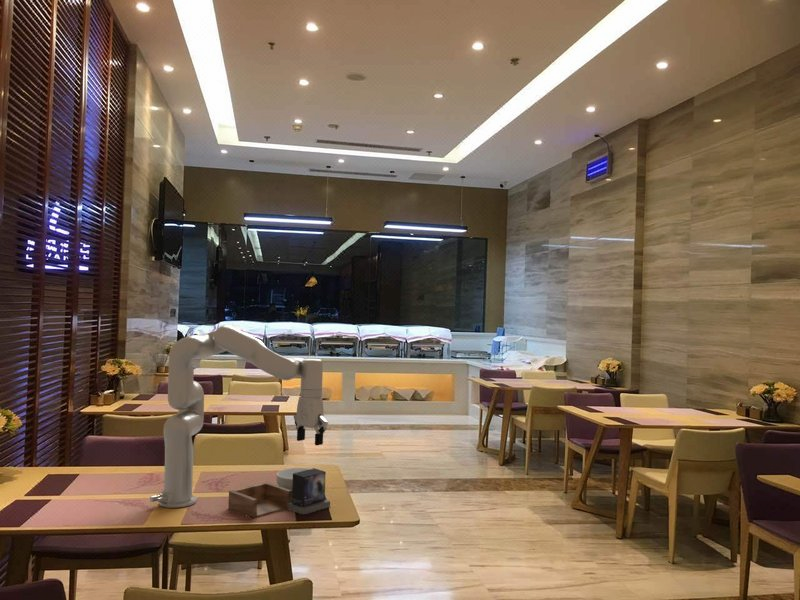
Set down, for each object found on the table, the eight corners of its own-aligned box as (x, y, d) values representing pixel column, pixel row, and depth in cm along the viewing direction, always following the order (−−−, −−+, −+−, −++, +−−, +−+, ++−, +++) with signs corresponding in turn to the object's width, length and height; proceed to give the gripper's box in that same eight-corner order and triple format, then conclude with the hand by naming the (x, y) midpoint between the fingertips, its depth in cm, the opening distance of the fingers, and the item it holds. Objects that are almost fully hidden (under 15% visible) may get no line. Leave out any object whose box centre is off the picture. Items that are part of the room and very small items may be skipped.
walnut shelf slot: (252, 518, 201) (253, 500, 201) (228, 508, 210) (228, 491, 210) (291, 507, 213) (291, 490, 213) (266, 498, 222) (267, 482, 222)
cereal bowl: (300, 501, 220) (300, 481, 221) (266, 493, 229) (267, 474, 229) (329, 490, 235) (329, 471, 235) (296, 483, 244) (296, 465, 244)
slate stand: (303, 514, 205) (303, 508, 205) (286, 508, 211) (287, 503, 211) (330, 507, 214) (330, 501, 214) (313, 501, 220) (313, 495, 220)
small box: (303, 507, 206) (304, 476, 207) (290, 503, 211) (291, 473, 211) (325, 500, 215) (326, 470, 215) (313, 496, 219) (313, 467, 219)
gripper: (287, 392, 216) (285, 440, 216) (319, 397, 205) (317, 448, 205) (303, 390, 222) (302, 437, 222) (335, 395, 211) (334, 445, 210)
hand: (309, 442), depth 213 cm, fingers open, 9 cm apart
